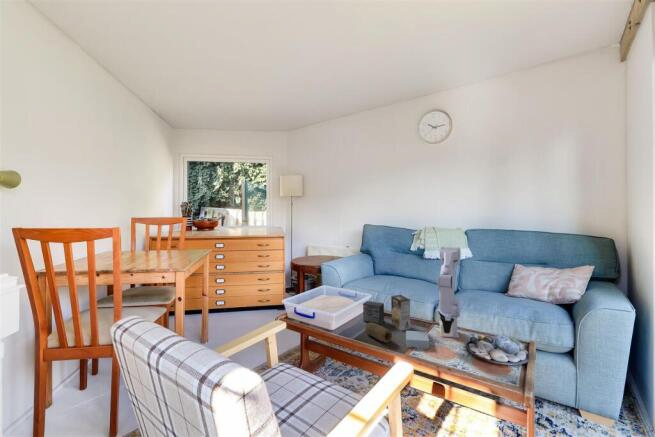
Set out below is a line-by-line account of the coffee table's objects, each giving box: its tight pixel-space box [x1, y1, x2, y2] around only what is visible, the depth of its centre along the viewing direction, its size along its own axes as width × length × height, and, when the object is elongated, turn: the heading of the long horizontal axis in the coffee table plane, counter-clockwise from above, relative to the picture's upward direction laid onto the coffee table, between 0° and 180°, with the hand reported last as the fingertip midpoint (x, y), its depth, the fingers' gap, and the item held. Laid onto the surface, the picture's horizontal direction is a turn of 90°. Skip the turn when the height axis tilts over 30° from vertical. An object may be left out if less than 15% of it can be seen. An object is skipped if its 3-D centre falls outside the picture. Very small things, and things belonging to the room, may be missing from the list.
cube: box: [439, 319, 453, 337], centre depth 139 cm, size 5×5×5 cm
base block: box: [405, 330, 430, 349], centre depth 145 cm, size 10×10×4 cm
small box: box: [362, 300, 385, 326], centre depth 173 cm, size 11×6×10 cm, turn 58°
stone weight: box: [364, 322, 393, 343], centre depth 152 cm, size 15×7×7 cm, turn 34°
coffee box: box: [390, 294, 411, 331], centre depth 164 cm, size 9×6×16 cm
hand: (446, 330), depth 139 cm, fingers closed on cube, 5 cm apart
